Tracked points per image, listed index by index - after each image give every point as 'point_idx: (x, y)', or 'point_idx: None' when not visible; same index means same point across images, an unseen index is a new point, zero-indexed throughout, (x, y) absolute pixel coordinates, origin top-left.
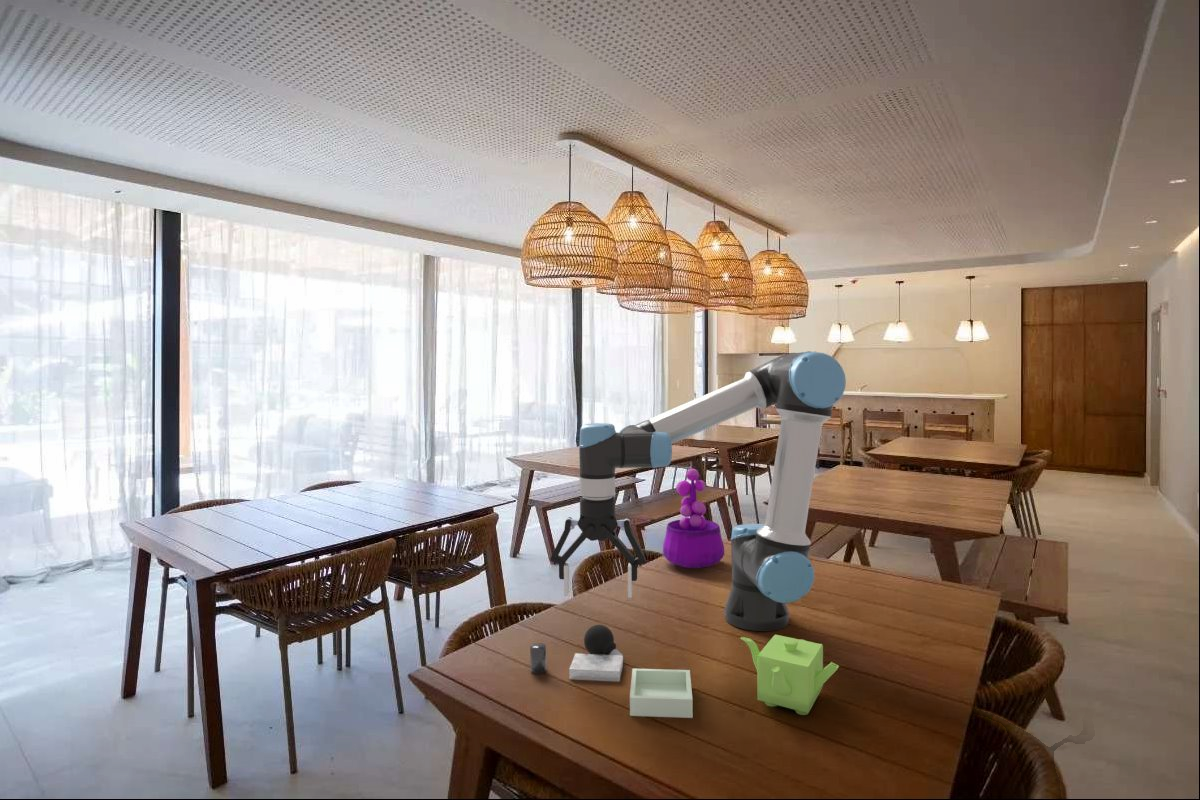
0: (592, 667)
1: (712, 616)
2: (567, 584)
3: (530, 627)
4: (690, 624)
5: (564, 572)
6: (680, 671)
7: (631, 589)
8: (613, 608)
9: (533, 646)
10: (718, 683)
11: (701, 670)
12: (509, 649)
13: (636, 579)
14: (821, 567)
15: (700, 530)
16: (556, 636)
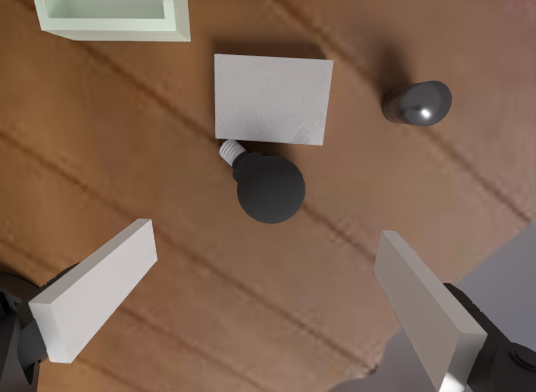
0: (278, 71)
1: None
2: (402, 255)
3: None
4: None
5: (452, 299)
6: (60, 20)
7: (119, 233)
8: (259, 358)
9: (441, 102)
10: (22, 60)
11: (65, 117)
12: (461, 200)
13: (72, 267)
14: None
15: None
16: (362, 256)
